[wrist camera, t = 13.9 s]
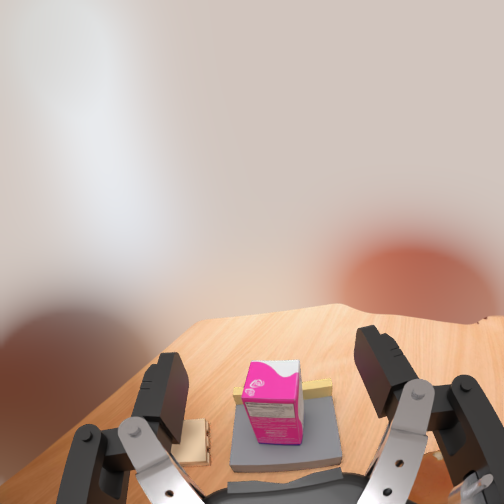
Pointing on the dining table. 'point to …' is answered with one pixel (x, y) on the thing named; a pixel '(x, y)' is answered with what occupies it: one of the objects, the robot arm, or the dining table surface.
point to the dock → (290, 456)
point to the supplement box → (275, 401)
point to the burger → (431, 481)
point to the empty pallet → (193, 444)
